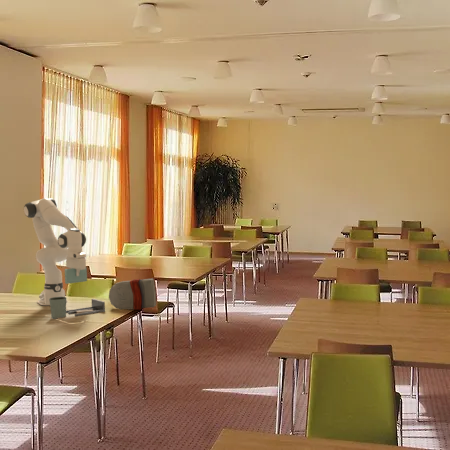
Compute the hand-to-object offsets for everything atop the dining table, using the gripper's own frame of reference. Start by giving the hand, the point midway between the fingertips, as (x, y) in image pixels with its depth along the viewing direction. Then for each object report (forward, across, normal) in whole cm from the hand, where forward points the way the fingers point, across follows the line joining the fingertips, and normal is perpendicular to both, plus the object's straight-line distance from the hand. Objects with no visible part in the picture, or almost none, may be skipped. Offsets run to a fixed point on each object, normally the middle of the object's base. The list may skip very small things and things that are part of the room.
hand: (75, 275), depth 418 cm
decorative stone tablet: (+23, +18, +30) cm, 42 cm away
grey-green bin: (+23, +8, -17) cm, 30 cm away
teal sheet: (+4, 0, 0) cm, 4 cm away
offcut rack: (+23, +8, +1) cm, 25 cm away
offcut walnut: (+22, +11, 0) cm, 25 cm away
